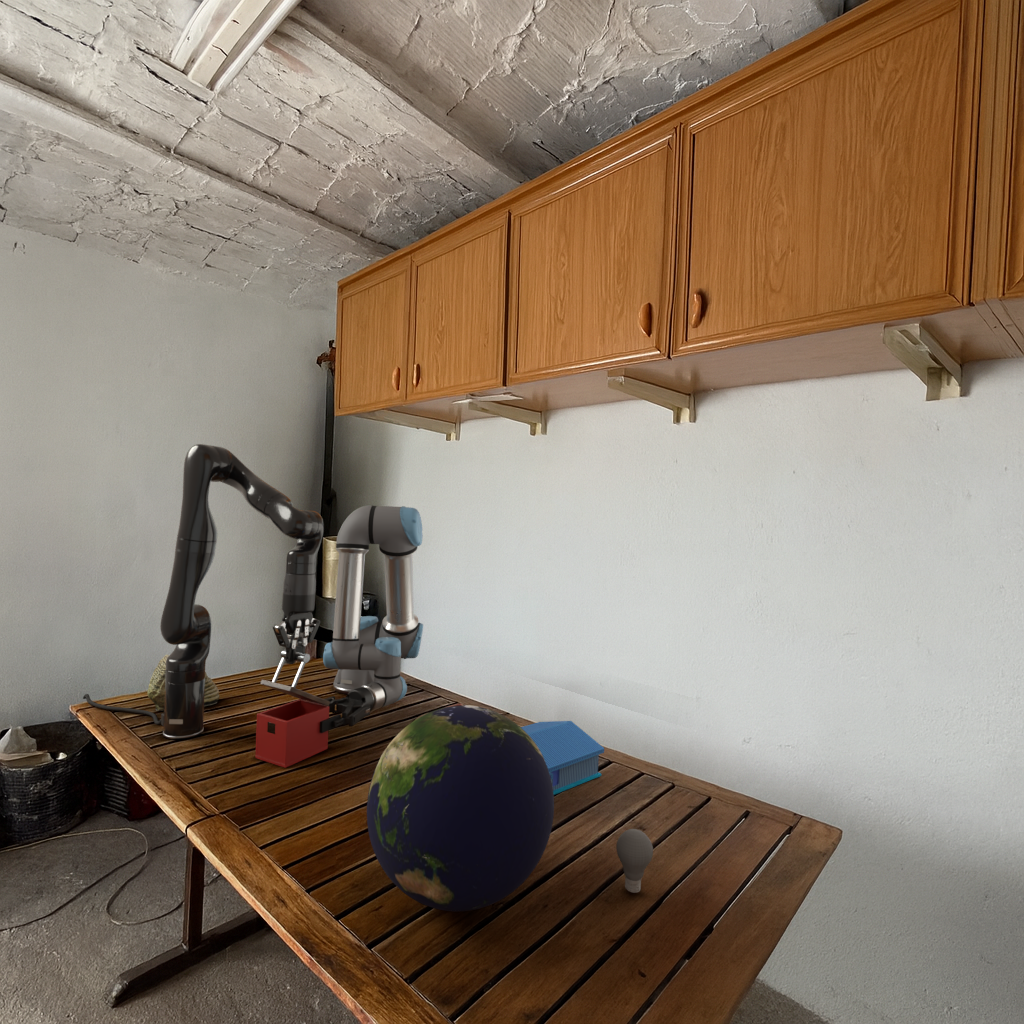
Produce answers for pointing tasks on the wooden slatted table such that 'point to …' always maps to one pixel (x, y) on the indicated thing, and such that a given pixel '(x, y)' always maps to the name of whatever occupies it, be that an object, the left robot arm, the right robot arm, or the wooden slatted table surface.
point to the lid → (293, 690)
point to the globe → (460, 808)
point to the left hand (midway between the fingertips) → (295, 662)
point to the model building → (566, 753)
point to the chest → (291, 732)
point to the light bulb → (634, 857)
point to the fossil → (158, 687)
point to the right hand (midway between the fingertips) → (305, 722)
